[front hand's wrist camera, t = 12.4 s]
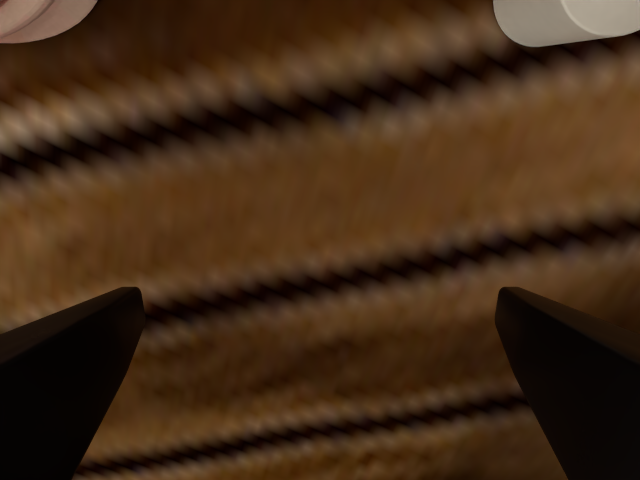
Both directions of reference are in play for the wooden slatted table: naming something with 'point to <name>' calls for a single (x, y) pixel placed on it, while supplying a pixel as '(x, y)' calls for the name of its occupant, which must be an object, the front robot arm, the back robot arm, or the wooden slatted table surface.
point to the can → (566, 20)
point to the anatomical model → (39, 18)
